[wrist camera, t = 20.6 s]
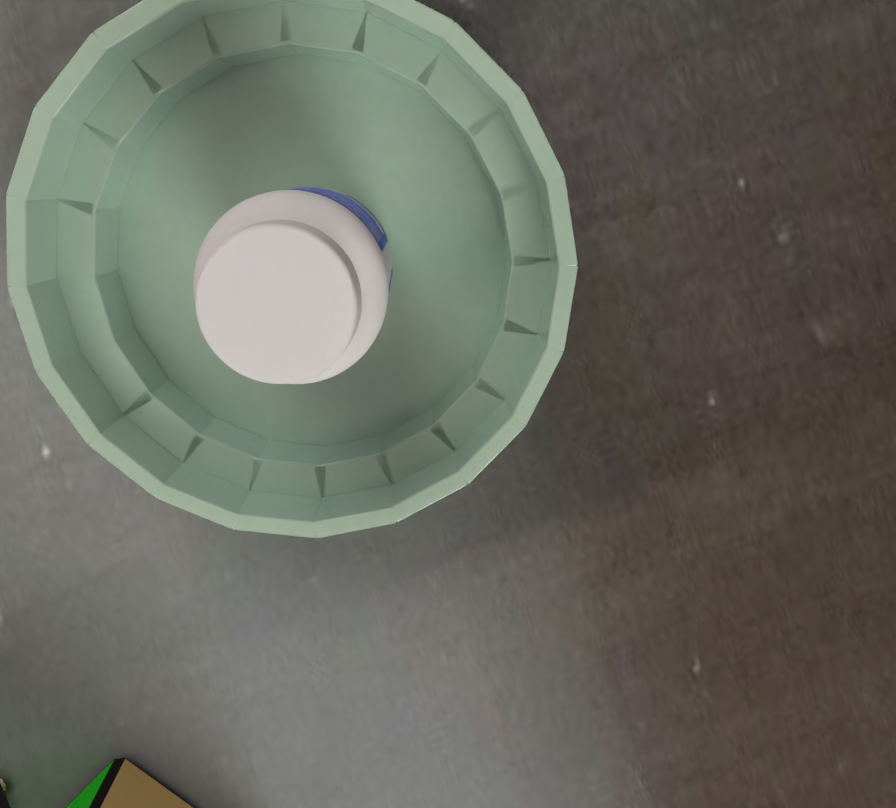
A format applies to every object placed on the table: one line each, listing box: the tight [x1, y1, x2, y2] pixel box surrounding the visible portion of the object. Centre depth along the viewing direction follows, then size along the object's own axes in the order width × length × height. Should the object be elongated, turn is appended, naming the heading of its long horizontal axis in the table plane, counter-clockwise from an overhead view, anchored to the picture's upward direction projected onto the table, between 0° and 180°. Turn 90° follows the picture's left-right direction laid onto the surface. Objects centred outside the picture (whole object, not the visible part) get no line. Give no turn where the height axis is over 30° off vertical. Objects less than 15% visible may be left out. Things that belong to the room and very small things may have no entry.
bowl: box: [6, 0, 578, 538], centre depth 28 cm, size 17×17×5 cm
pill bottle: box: [193, 187, 393, 384], centre depth 25 cm, size 5×5×10 cm
